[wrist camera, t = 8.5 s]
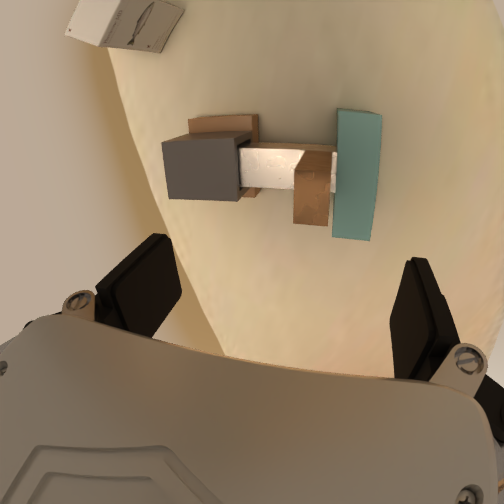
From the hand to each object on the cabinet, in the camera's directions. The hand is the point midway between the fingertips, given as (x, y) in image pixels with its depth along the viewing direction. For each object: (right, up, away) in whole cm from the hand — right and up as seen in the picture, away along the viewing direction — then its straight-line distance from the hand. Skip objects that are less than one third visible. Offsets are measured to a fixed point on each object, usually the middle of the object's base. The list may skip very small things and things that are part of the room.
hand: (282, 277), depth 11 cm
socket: (+11, +12, +21) cm, 27 cm away
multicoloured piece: (+3, +11, +19) cm, 23 cm away
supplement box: (-14, +32, +18) cm, 39 cm away
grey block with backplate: (-4, +14, +25) cm, 29 cm away
